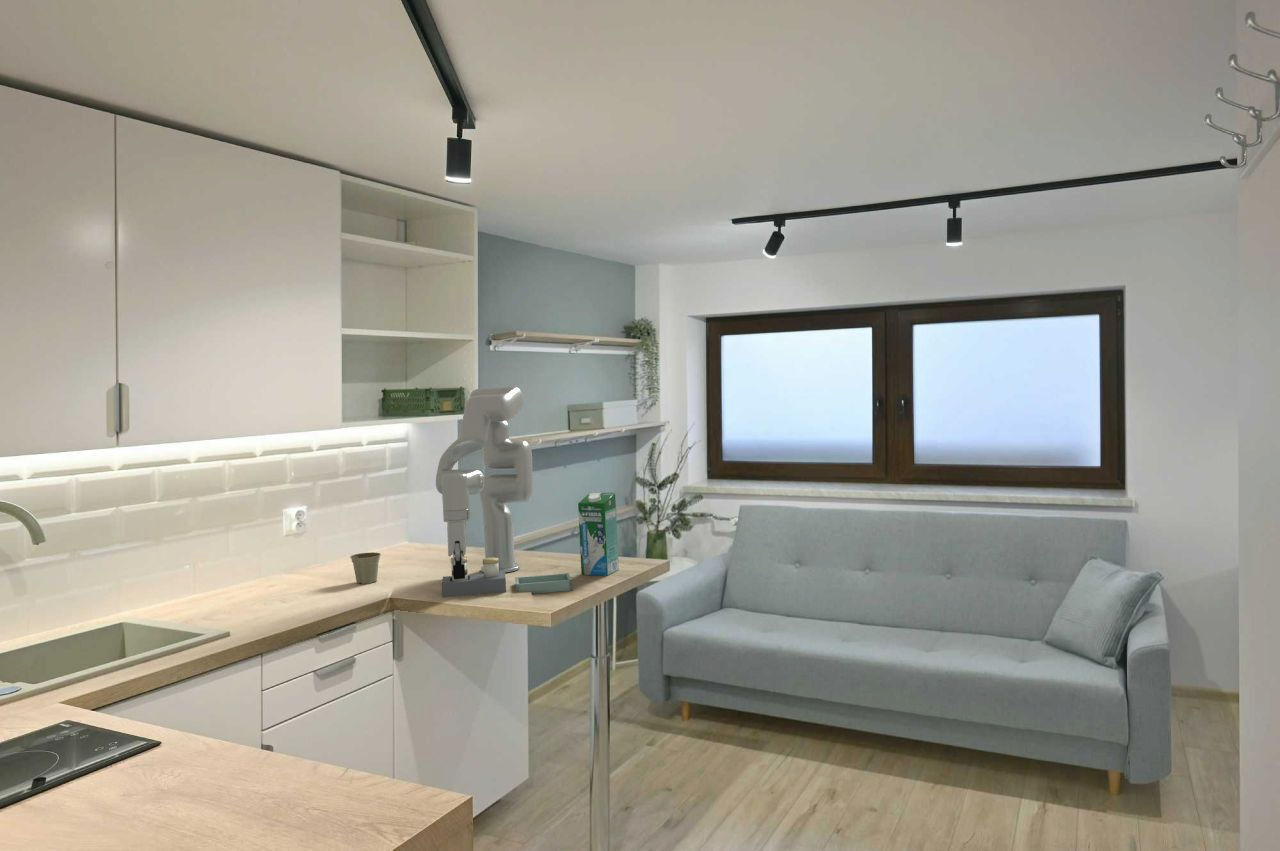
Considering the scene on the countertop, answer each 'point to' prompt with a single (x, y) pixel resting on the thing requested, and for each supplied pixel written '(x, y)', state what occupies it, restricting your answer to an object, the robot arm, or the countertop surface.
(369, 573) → the flower pot
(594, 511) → the milk carton
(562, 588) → the tray
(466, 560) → the fuse
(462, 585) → the block
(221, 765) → the countertop surface
